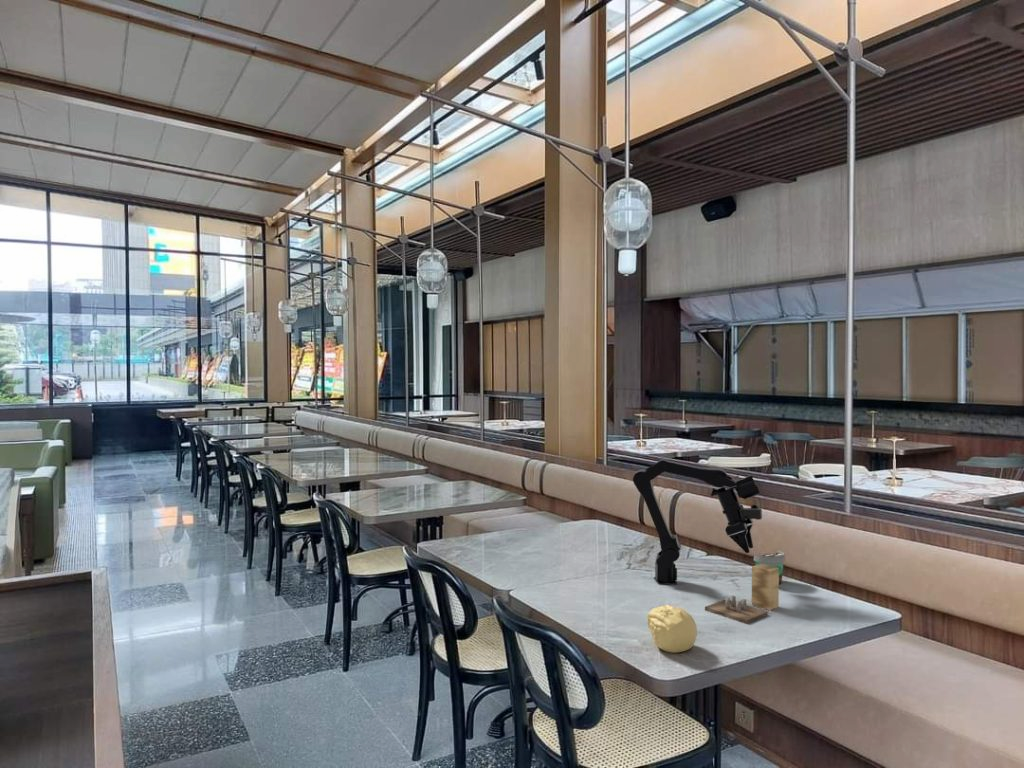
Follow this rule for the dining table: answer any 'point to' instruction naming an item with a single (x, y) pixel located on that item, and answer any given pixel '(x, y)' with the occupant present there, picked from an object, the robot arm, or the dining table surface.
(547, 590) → the dining table surface
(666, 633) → the sculpture
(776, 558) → the food container
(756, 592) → the oak block
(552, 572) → the dining table surface
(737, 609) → the peg base
